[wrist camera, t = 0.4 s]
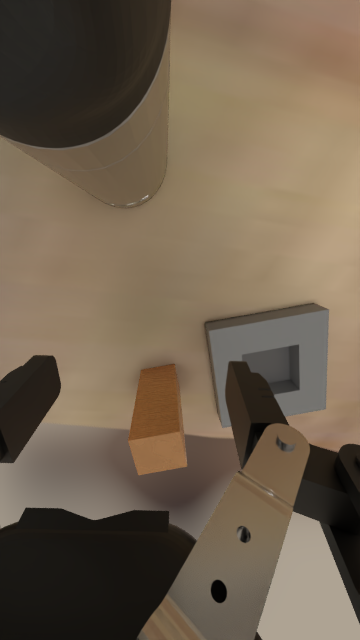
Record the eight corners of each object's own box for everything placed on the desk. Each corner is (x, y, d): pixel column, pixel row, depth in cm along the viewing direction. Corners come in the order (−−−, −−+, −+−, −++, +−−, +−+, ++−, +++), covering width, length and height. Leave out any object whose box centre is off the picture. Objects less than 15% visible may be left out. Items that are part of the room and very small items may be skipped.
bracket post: (141, 369, 32) (128, 441, 21) (174, 363, 32) (180, 431, 21) (147, 395, 33) (138, 475, 22) (179, 389, 33) (187, 466, 22)
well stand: (204, 322, 30) (208, 331, 28) (313, 303, 30) (328, 309, 28) (217, 412, 35) (222, 427, 32) (312, 395, 35) (325, 409, 32)
